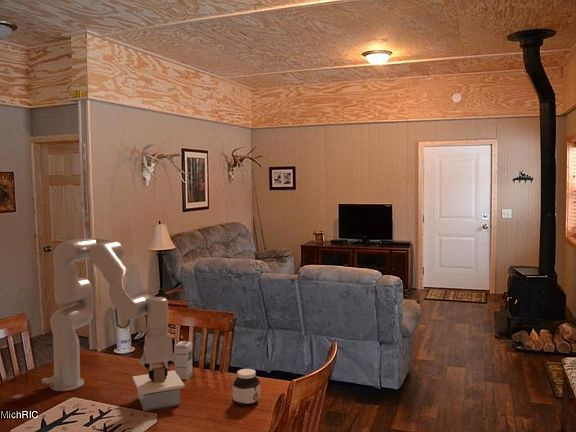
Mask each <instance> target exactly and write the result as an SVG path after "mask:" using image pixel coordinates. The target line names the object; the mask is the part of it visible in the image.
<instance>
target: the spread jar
mask: <svg viewBox="0 0 576 432" xmlns="http://www.w3.org/2000/svg"><path fill="white" fill-rule="evenodd" d="M236 373H237V375H236V376H237V377H235V379H234V380H233V382H232V383H233V384H232V399H233V401H234V402H235V403H236V404H238V405H239V406H243V407H250V406H253V405H255V404H256V403H257V402H258V401H259V399H260V397H261V381H260V379H259V378H258V377H257V374H256V373H257V372H256V370H255V369H252V368H242V369H239V370H237V372H236Z"/></svg>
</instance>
